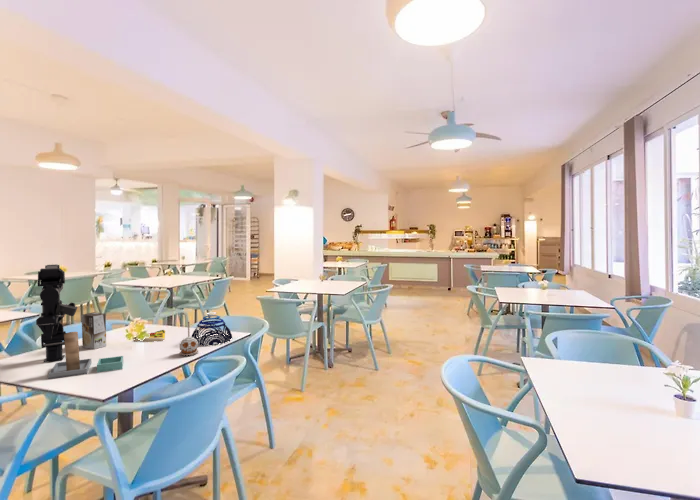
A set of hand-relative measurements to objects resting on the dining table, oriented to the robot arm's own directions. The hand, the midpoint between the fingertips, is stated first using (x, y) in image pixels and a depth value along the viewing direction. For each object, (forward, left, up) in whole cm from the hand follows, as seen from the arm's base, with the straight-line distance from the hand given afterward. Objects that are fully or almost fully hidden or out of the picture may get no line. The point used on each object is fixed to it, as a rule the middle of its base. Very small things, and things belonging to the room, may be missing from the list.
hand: (52, 337), depth 155 cm
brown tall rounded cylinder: (+8, +8, -12) cm, 17 cm away
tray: (+6, +7, -13) cm, 16 cm away
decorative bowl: (-15, +63, -13) cm, 66 cm away
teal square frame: (+9, +21, -13) cm, 26 cm away
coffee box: (-29, +11, -13) cm, 34 cm away
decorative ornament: (+4, +51, -13) cm, 53 cm away
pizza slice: (-36, +38, -14) cm, 54 cm away
